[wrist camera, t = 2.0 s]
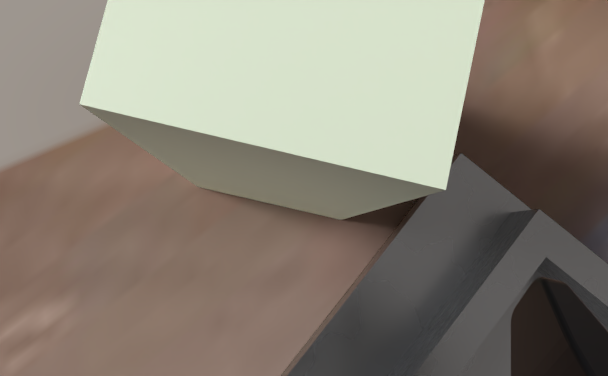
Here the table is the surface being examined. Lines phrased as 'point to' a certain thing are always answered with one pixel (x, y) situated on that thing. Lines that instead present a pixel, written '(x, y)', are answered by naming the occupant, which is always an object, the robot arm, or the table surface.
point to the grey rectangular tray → (451, 286)
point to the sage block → (290, 94)
